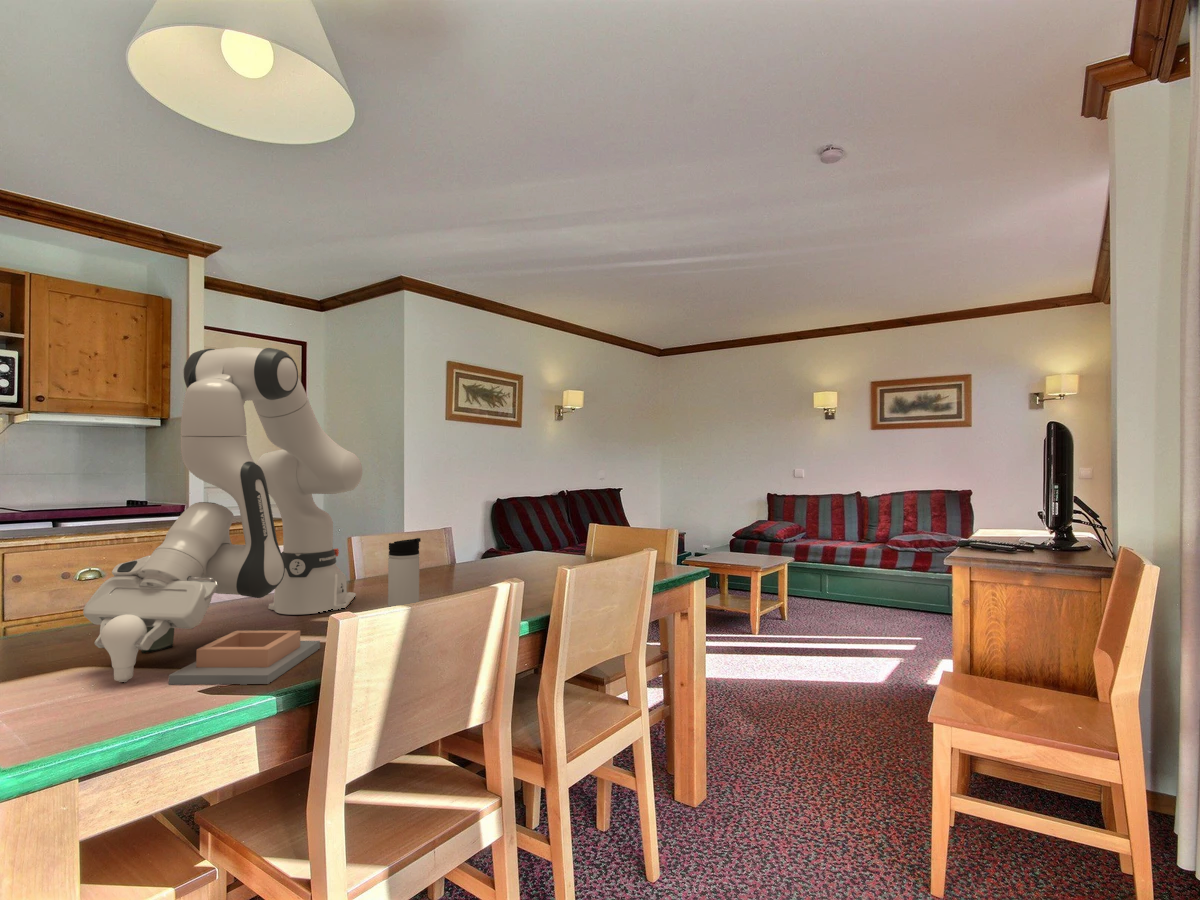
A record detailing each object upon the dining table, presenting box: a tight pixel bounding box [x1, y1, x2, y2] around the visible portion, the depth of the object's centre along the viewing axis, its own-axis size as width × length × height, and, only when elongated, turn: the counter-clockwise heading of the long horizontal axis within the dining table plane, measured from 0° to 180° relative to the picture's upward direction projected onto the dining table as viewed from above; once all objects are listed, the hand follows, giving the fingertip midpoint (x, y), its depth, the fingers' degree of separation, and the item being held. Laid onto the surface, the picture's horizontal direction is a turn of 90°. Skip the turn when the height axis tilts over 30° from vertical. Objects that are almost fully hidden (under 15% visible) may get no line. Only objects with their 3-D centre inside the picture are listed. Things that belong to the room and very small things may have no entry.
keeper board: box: [168, 630, 321, 686], centre depth 115 cm, size 20×16×4 cm
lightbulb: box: [101, 615, 147, 683], centre depth 106 cm, size 6×6×11 cm
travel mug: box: [387, 537, 422, 608], centre depth 136 cm, size 6×7×20 cm
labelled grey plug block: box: [140, 627, 175, 654], centre depth 124 cm, size 6×5×8 cm
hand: (120, 647), depth 105 cm, fingers closed on lightbulb, 6 cm apart
